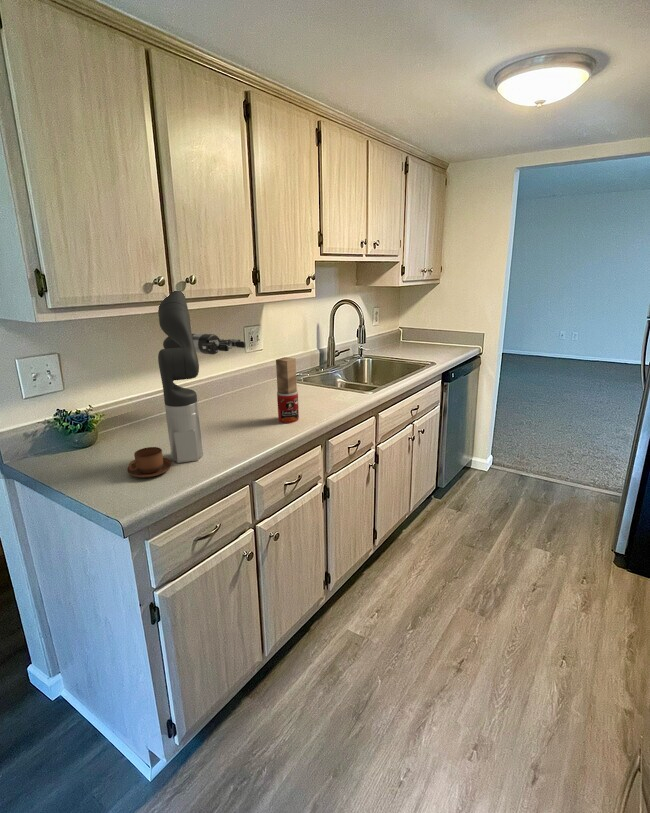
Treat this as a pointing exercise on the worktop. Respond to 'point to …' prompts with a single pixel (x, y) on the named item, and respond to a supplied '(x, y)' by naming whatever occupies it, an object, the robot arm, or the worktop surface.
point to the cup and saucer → (149, 463)
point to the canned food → (288, 407)
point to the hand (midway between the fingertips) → (236, 346)
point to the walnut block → (286, 375)
